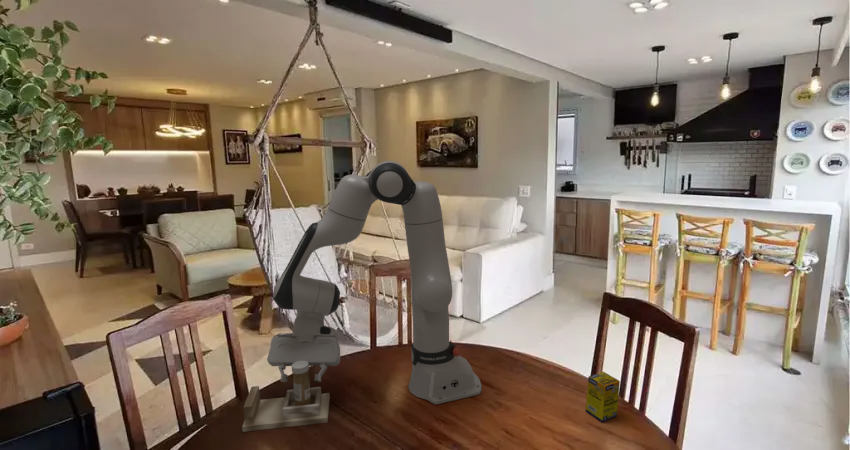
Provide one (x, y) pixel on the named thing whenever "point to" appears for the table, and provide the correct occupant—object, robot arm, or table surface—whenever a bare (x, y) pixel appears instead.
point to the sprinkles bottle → (301, 383)
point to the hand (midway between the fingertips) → (300, 381)
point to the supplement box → (602, 396)
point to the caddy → (284, 410)
